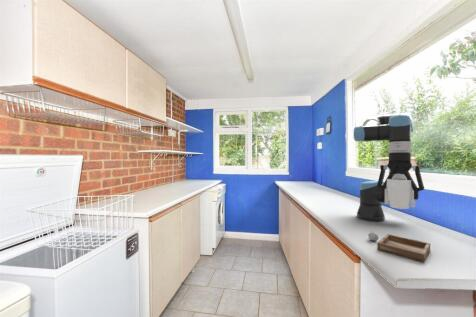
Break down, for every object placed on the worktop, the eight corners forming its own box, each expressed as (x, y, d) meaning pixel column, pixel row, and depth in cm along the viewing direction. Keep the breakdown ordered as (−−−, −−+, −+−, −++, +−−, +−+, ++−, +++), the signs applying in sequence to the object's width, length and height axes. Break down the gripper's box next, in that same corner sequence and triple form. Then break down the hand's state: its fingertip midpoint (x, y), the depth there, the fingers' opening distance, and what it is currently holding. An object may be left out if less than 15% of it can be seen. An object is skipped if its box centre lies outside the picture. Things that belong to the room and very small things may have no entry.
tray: (387, 240, 101) (387, 234, 101) (430, 250, 90) (430, 243, 90) (377, 249, 91) (377, 242, 91) (424, 262, 80) (424, 254, 80)
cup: (417, 210, 87) (417, 180, 87) (392, 209, 89) (392, 179, 89) (405, 205, 96) (405, 178, 96) (382, 204, 98) (382, 178, 98)
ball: (369, 238, 104) (369, 229, 104) (379, 240, 101) (379, 232, 101) (366, 240, 101) (366, 231, 101) (376, 242, 98) (376, 234, 98)
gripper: (368, 152, 98) (368, 202, 98) (431, 151, 82) (431, 211, 82) (374, 152, 103) (374, 200, 103) (434, 151, 87) (434, 208, 87)
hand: (399, 205), depth 93 cm, fingers closed on cup, 9 cm apart
